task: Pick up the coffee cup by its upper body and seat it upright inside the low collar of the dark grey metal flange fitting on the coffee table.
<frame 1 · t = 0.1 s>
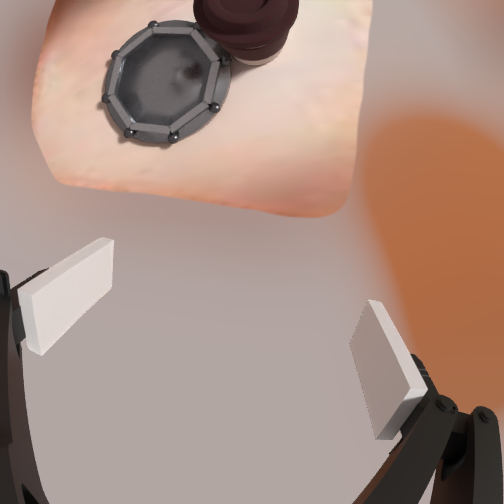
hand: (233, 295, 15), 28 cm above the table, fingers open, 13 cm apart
flange: (165, 80, 37), on the table
coffee cup: (255, 42, 35), on the table
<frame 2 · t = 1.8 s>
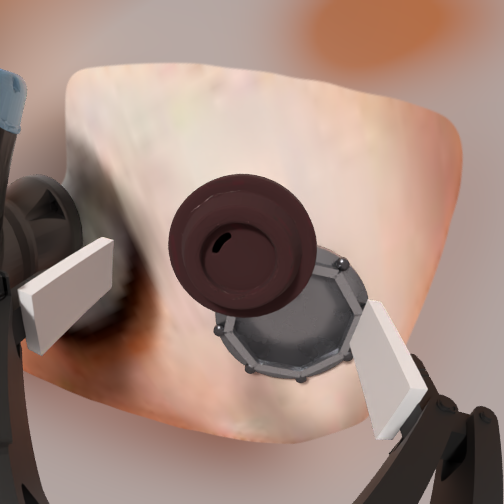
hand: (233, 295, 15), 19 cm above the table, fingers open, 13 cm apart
flange: (292, 315, 37), on the table
coffee cup: (254, 210, 34), on the table
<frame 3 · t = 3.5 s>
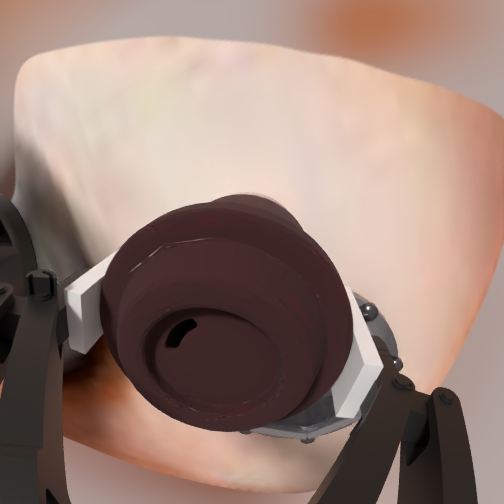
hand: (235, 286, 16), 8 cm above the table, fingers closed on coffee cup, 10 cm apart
flange: (299, 370, 28), on the table
coffee cup: (250, 239, 24), on the table, touching gripper
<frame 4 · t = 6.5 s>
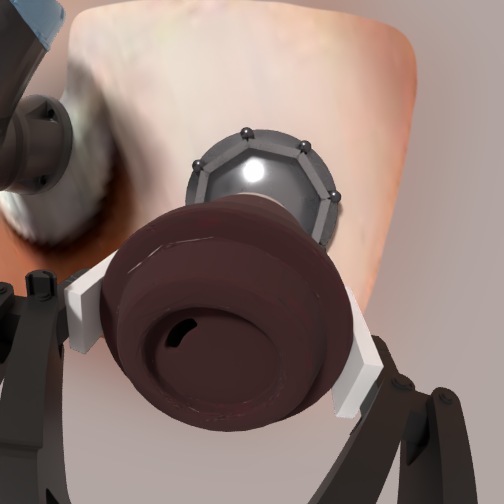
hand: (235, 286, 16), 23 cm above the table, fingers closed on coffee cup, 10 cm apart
flange: (261, 205, 38), on the table
coffee cup: (250, 238, 24), point 15 cm above the table, touching gripper
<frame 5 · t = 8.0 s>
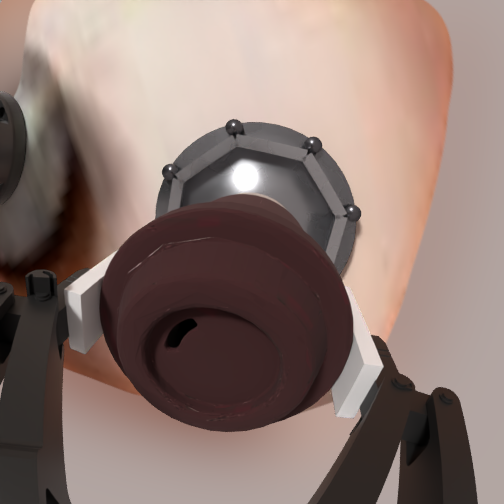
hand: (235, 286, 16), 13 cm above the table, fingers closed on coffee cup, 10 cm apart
flange: (254, 223, 29), on the table
coffee cup: (250, 238, 24), point 5 cm above the table, touching gripper
when the fingers open (12 cm above the table, at t = 9.4 s): coffee cup drops 2 cm, resting on flange.
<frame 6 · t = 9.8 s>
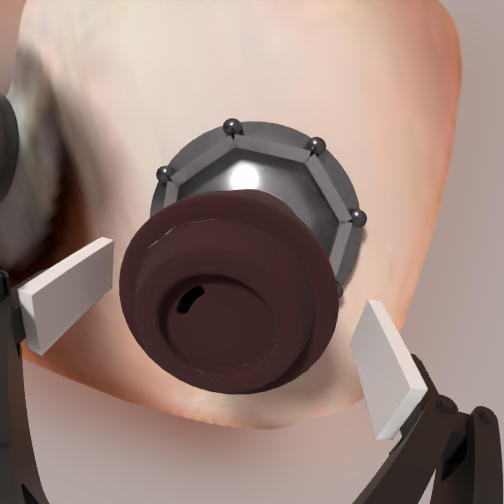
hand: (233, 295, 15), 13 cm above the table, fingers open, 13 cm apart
flange: (254, 228, 27), on the table
coffee cup: (253, 231, 26), point 1 cm above the table, touching flange
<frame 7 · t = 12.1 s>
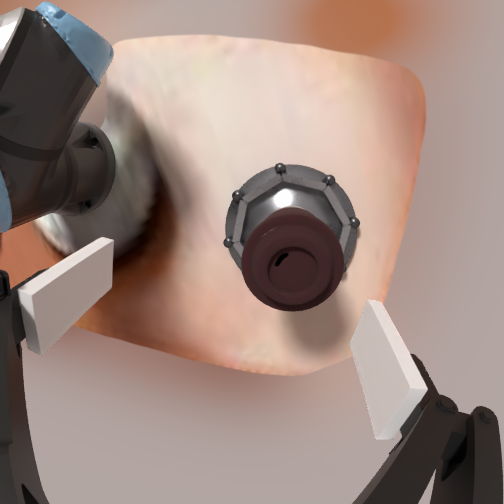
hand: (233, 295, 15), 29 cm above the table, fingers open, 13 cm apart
flange: (291, 229, 44), on the table
coffee cup: (291, 231, 43), point 1 cm above the table, touching flange
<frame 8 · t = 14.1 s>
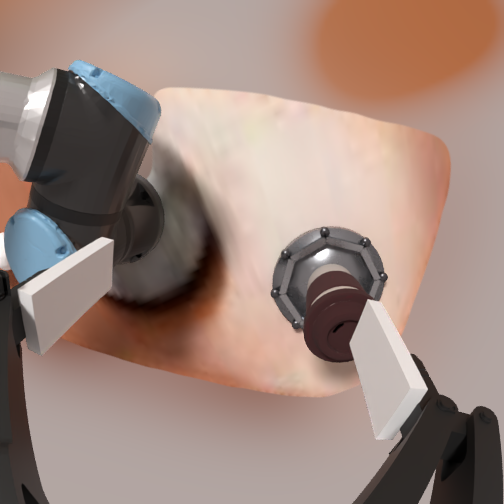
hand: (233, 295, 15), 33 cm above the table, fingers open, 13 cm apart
flange: (329, 281, 50), on the table
coffee cup: (329, 284, 49), point 1 cm above the table, touching flange
rabbit: (11, 243, 53), on the table
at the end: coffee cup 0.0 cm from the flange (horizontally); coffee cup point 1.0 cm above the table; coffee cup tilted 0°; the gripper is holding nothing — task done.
